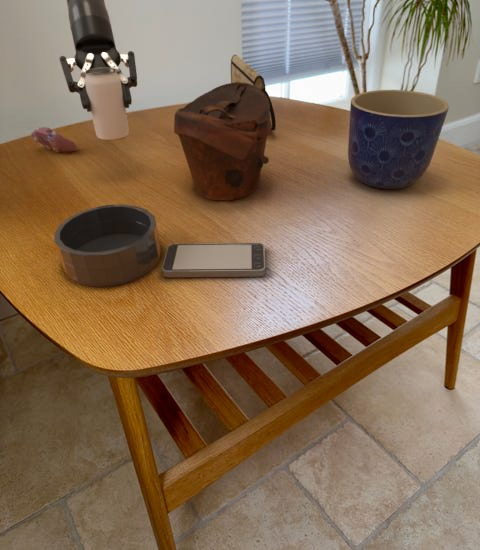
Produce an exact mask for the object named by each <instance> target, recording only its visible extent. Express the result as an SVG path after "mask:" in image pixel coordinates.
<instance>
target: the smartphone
mask: <svg viewBox="0 0 480 550" xmlns="http://www.w3.org/2000/svg"><path fill="white" fill-rule="evenodd" d="M161 271H162V277H164V278H227V277H228V278H235V277H236V278H241V277H242V278H243V277H244V278H245V277H246V278H247V277H249V278H251V277H253V278H255V277H257V278H258V277H263V276H265V275H266V255H265V244H264V243H263V242H206V243H205V242H201V243H200V242H199V243H196V242H194V243H192V242H191V243H170V244H168V245H167V248H166V252H165V256H164V260H163V262H162V266H161Z"/></svg>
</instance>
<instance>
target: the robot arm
mask: <svg viewBox="0 0 480 550" xmlns="http://www.w3.org/2000/svg"><path fill="white" fill-rule="evenodd" d="M66 4H67V10H68V11H67V12H68V21H69V27H70V31H71V36H72V41H73V45H74V50H75V54H74V57H70V58H67V57H66V56H64V55H61V56H59V62H60V65H61V70H62V72H63V75H64V79H65V81H66V85H67V88H68V92H69V93H78V94H79V98H80V103H81V107H82V109H83V110H86V112H87V113H91V108H90V104H89V99H88V94H87V91H86V86H85V77H86V73H85V71H86V70H89V69H93V68H101V67H110V68H115V69H116V72H117V74H118V76H119V77H120V80H121V85H122V91H123V97H124V103H125V108H126V109H129V108H130V106H131V105H132V94H131V90H130V89H131V88H136V87H137V86H138V73H137V66H136V57H135V52H134V51H132V50H130V51H128V52H127V53H120V52H119V51H118V50H117V47H116V42H115V37H114V32H113V28H112V24H111V18H110V15H109V11H108V9H107V6H106V1H105V0H66ZM121 63H123V64H124V66H125V67H126V68H128V72H129V76H128V77H127V76H126V75H125V74H124V73H123V72H122V69H121V68H120V64H121ZM75 66H77V67H78V69H80V76H79V79H78V81H74V79H73V76H72V73H73V72H74V71H75V70H74V69H75Z"/></svg>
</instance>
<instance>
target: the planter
mask: <svg viewBox="0 0 480 550" xmlns="http://www.w3.org/2000/svg"><path fill="white" fill-rule="evenodd" d="M349 107H350V108H349V125H348V127H349V128H348V143H347V144H348V145H347V157H348V159H347V160H348V164H349V168H350V170H351V172H352V174H353V175H354V176H355V178H356V179H358V181H360V182H361V183H364V184H365V185H367V186H369V187H372V188H373V187H374V188H377V189H385V190H397V189H402V188H405V187H409V186H411V185H412V184H414V183H416V182H417V181H418V180H420V179H421V178H422V177H423V176H424V175H425V173H426V171H427V170H428V168H429V166H430V164H431V162H432V159H433V157H434V154H435V150H436V148H437V144H438V142H439V139H440V135H441V132H442V129H443V127H444V123H445V121H446V118H447V115H448V112H449V108H450V105H449V103H448V101H446V100H445V99H443V98H442V97H440V96H437V95H434V94H430V93H427V92H420V91H414V90H405V89H378V90H369V91H364V92H360V93H358V94H356V95H354V96H353V97H352V98H351V100H350V106H349Z"/></svg>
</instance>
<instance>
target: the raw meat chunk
mask: <svg viewBox="0 0 480 550" xmlns="http://www.w3.org/2000/svg"><path fill="white" fill-rule="evenodd" d="M30 135H31V137H32V139H33V141H34V142H35V143H39V144H41V145H42V146H44V148H46V150H49V151H52V150H53V152H56V153H61V151H62V150H63V151H64V152H65V151H66V152H75V151H76V150H77V145H76V143H75V142H74V141H73V140H70V139H68V138H66V137H64V136H63V135H62V134H60V133H59V132H56V131H55V130H53V129H51V128H50V127H45V126H43V127H40V126H38V127H37V128H35V129H34V130H33V131H32V132H31V133H30Z"/></svg>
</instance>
